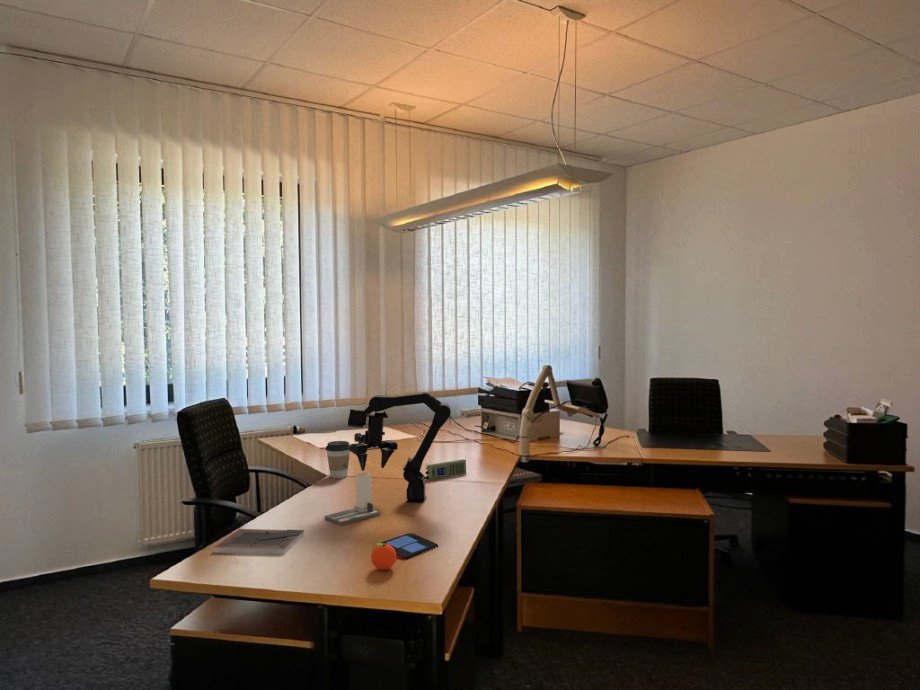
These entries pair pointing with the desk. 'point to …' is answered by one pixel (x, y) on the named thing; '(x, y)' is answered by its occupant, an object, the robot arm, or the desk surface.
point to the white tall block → (364, 493)
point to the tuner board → (349, 516)
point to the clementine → (383, 556)
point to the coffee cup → (338, 458)
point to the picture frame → (259, 541)
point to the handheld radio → (445, 469)
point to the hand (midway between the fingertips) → (372, 469)
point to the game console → (410, 545)
